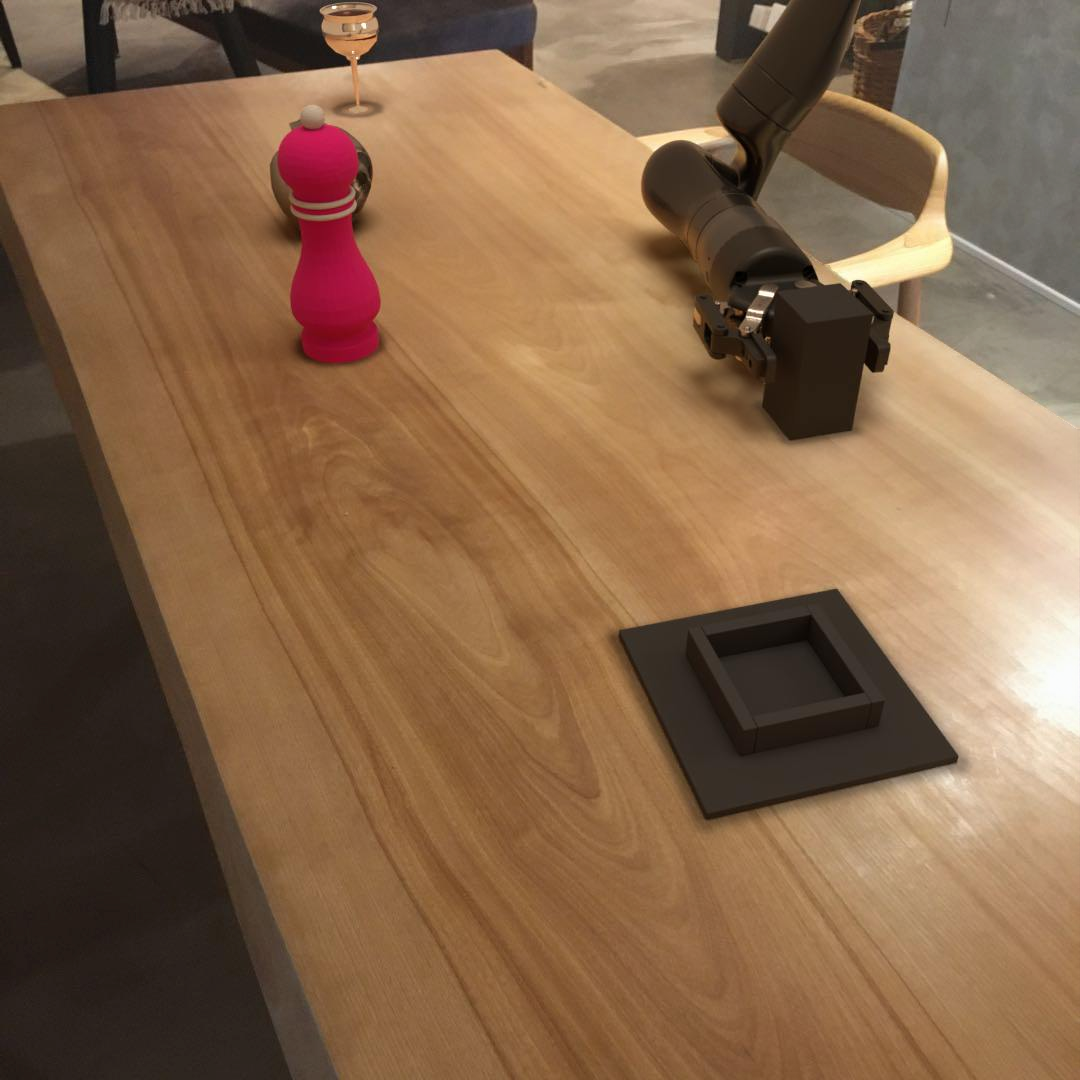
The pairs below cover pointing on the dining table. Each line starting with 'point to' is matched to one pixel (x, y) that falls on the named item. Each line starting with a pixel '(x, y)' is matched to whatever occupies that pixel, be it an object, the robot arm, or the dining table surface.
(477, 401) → the dining table surface
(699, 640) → the base pad
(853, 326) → the pad block
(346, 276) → the pepper mill
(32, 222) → the dining table surface
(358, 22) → the wineglass
